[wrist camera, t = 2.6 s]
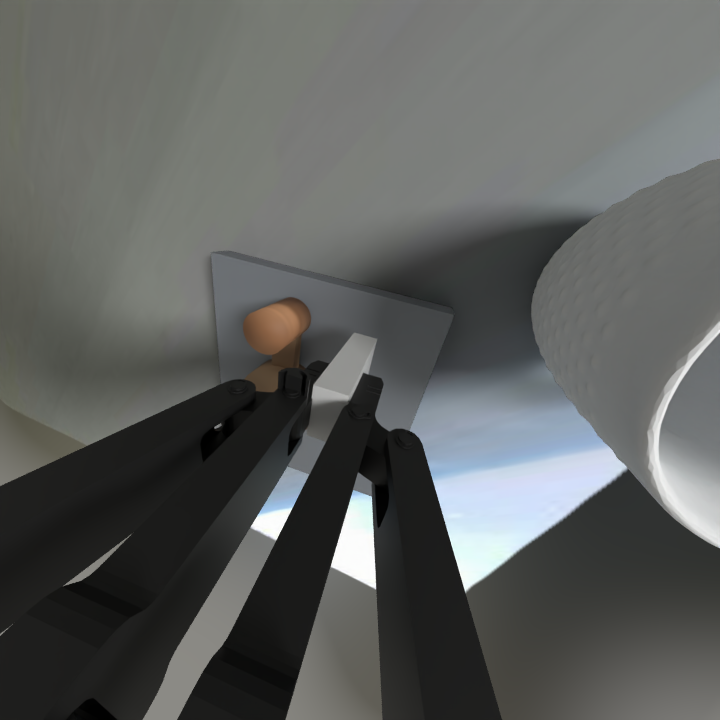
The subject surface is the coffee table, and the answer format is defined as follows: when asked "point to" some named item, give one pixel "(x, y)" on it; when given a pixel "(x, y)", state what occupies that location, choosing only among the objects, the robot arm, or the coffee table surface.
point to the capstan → (276, 339)
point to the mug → (646, 337)
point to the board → (331, 334)
